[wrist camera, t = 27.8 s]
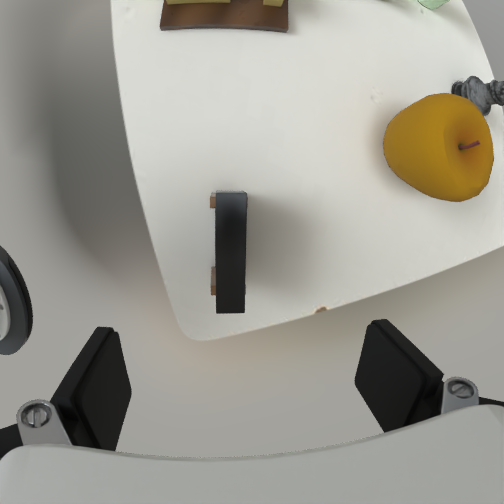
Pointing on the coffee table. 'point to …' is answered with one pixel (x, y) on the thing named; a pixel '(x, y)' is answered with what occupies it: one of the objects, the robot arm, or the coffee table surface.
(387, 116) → the coffee table surface
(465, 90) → the black chess piece
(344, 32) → the coffee table surface
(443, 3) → the candle
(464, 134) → the apple
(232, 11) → the butter board
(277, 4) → the butter slice
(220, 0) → the butter block
